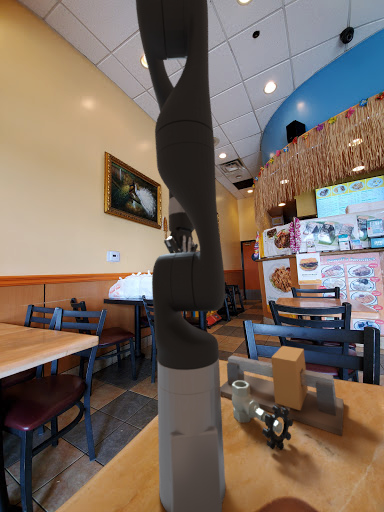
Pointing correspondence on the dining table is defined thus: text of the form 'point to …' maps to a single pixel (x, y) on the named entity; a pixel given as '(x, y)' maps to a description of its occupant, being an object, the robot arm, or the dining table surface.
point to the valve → (260, 415)
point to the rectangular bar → (308, 378)
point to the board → (308, 413)
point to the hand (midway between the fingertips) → (183, 274)
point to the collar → (289, 377)
